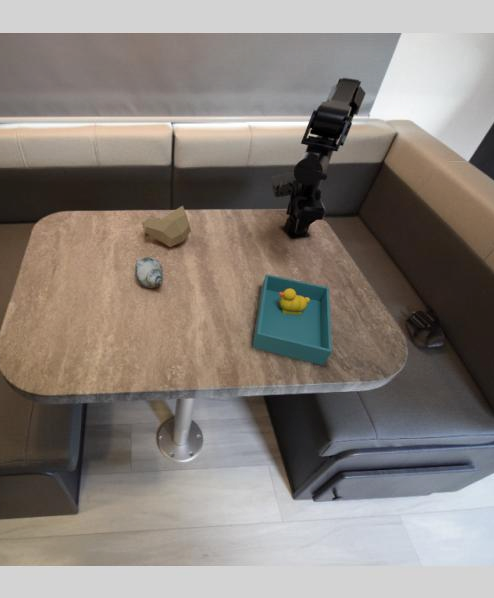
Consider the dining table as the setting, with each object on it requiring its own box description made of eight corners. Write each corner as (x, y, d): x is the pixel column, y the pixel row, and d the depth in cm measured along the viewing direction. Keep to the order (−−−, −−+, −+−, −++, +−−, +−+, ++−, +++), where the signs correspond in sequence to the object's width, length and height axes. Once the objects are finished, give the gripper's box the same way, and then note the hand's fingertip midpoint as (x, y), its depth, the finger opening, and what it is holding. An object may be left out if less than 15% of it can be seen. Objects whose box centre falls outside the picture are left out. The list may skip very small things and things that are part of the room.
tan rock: (197, 237, 108) (176, 207, 109) (204, 222, 97) (180, 190, 99) (157, 262, 105) (136, 232, 107) (159, 250, 95) (135, 216, 96)
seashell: (158, 270, 98) (155, 300, 90) (134, 260, 96) (128, 290, 88) (169, 254, 94) (166, 284, 85) (143, 243, 92) (138, 273, 83)
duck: (303, 304, 87) (312, 286, 83) (306, 316, 84) (315, 298, 80) (273, 302, 88) (280, 283, 83) (275, 313, 85) (282, 295, 80)
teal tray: (261, 288, 92) (265, 274, 88) (321, 301, 89) (329, 287, 85) (252, 347, 78) (257, 333, 75) (323, 365, 75) (332, 351, 72)
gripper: (273, 147, 88) (260, 202, 99) (284, 183, 75) (267, 242, 87) (318, 149, 88) (299, 205, 99) (337, 187, 75) (313, 245, 86)
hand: (294, 223), depth 93 cm, fingers open, 9 cm apart
